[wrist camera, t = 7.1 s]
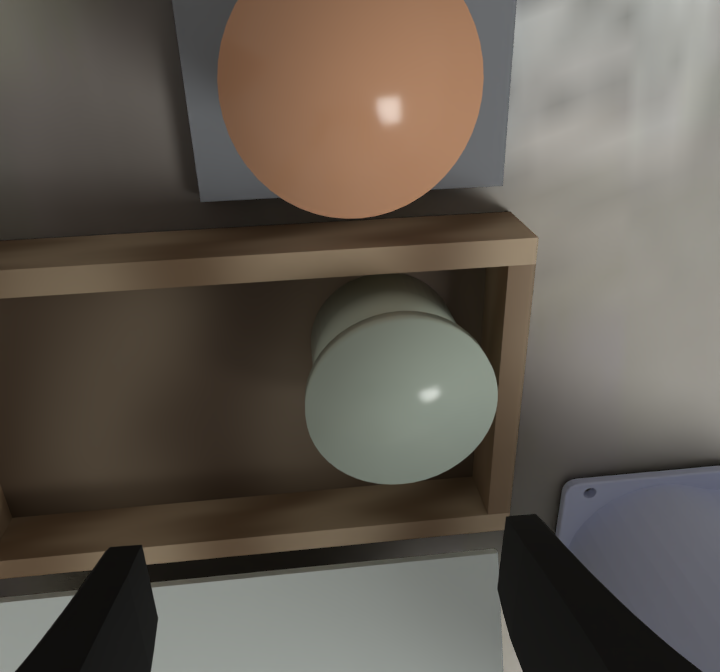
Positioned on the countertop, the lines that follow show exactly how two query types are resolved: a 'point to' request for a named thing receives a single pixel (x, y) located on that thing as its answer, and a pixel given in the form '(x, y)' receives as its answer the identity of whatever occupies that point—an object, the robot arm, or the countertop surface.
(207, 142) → the slate mat
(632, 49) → the countertop surface
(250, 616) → the lid
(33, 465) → the brown rectangular frame
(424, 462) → the glazed pot
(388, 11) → the pot
